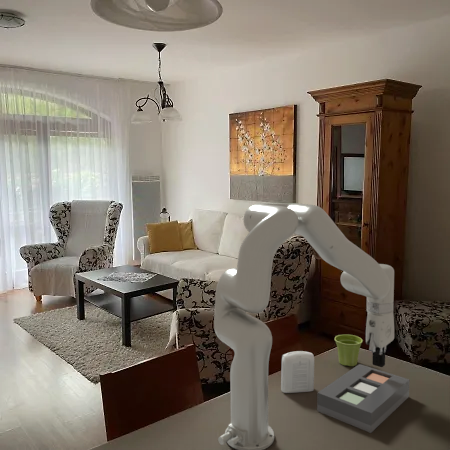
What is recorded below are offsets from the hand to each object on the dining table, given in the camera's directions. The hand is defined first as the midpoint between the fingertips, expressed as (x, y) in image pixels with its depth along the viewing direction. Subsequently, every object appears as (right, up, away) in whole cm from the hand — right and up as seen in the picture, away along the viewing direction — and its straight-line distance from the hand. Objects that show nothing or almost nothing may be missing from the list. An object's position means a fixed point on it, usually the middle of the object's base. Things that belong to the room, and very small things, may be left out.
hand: (378, 365), depth 138 cm
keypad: (-6, -10, -5) cm, 12 cm away
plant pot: (-3, -6, +23) cm, 24 cm away
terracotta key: (0, -6, +1) cm, 6 cm away
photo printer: (-24, -9, +4) cm, 26 cm away
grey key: (-6, -6, -5) cm, 10 cm away
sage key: (-11, -7, -11) cm, 17 cm away
